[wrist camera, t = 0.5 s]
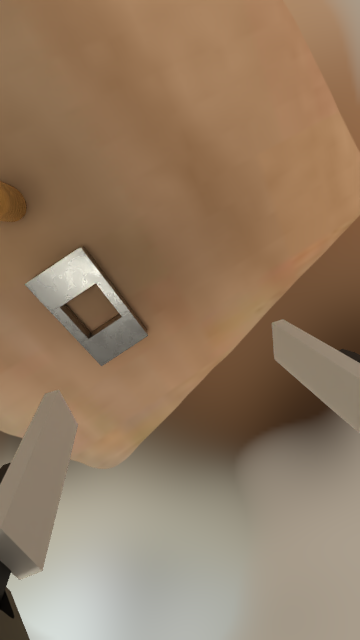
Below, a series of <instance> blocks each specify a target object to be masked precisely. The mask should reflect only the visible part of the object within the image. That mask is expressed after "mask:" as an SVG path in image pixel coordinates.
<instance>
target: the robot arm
mask: <svg viewBox="0 0 360 640" xmlns="http://www.w3.org/2000/svg"><path fill="white" fill-rule="evenodd" d="M272 333H273V345H274V346H273V347H274V359H275V360H276V361H277V362H278V363H279V364H280V365H282V366H283V367H284V368H285V369H286V370H287V371H288V372H290V373H291V374H292V375H293V376H294V377H295V378H296V379H298V380H299V381H300V382H301V383H302V384H303V385H304V386H306V387H307V388H308V389H309V390H310V391H311V392H313V393H314V394H315V395H316V396H317V397H318V398H320V399H321V400H322V401H323V402H324V403H325V404H326V405H327V406H329V407H330V408H331V409H332V410H333V411H334V412H335V413H337V414H338V415H339V416H340V417H341V418H342V419H344V420H345V421H346V422H347V423H348V424H349V425H350V426H352V427H353V428H354V429H355V430H356V431H357V432H358V433H360V355H359V354H357V353H355V352H351V351H348V350H344V349H341V350H339V351H338V350H336V349H334V348H332V347H331V346H329V345H327V344H325V343H324V342H321V341H320V340H318V339H317V338H315V337H313V336H311V335H310V334H308V333H306V332H304V331H302V330H301V329H299V328H297V327H296V326H294V325H292V324H290V323H288V322H287V321H285V320H283V319H282V320H279V321H276V322H273V323H272ZM77 427H78V423H77V422H76V420H75V418H74V416H73V414H72V413H71V411H70V409H69V407H68V405H67V404H66V402H65V400H64V398H63V396H62V394H61V393H60V391H59V390H56V391H52V392H49V393H46V394H45V395H44V397H43V399H42V401H41V403H40V405H39V407H38V409H37V411H36V413H35V415H34V417H33V419H32V421H31V423H30V425H29V427H28V429H27V431H26V433H25V435H24V437H23V439H22V441H21V443H20V445H19V447H18V449H17V452H16V453H15V456H14V457H13V459H12V462H11V463H8V464H5V465H3V466H2V467H1V468H0V640H30V639H29V637H28V634H27V632H26V629H25V627H24V624H23V622H22V619H21V617H20V614H19V612H18V609H17V607H16V605H15V602H14V599H13V597H12V594H11V592H10V590H9V589H8V588H7V587H6V585H7V582H8V579H9V576H10V573H13V574H14V575H15V576H16V577H17V578H18V579H19V580H21V579H23V578H26V577H28V576H30V575H33V574H36V573H38V572H41V571H42V570H43V566H44V562H45V558H46V554H47V550H48V546H49V542H50V537H51V533H52V529H53V525H54V520H55V517H56V513H57V509H58V505H59V501H60V497H61V492H62V488H63V484H64V480H65V476H66V472H67V468H68V464H69V460H70V456H71V452H72V448H73V444H74V439H75V435H76V431H77Z"/></svg>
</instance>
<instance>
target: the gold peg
mask: <svg viewBox="0 0 360 640" xmlns="http://www.w3.org/2000/svg"><path fill="white" fill-rule="evenodd" d="M25 213H26V202H25V199H24V197H23V195H22V194H21V193H20V192H19V191H18V190H17V189H16V188H14V187H13V186H11V185H8V184H6V183H3V182H1V181H0V221H7V222H15V221H18V220H20V219H21V218H23V216H24V215H25Z"/></svg>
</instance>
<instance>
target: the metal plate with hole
mask: <svg viewBox="0 0 360 640" xmlns="http://www.w3.org/2000/svg"><path fill="white" fill-rule="evenodd" d="M95 283H96V284H97V286H98V287H99V288H100V289H101V291H102V292H103V293H104V294H105V296H106V297H107V298H108V300H109V301H110V302H111V303H112V305H113V306H114V307H115V308H116V310H117V311H118V312H119V313H120V314H119V315H117V316H116V317H114V318H113V319H111V320H110V321H108V322H106V323H105V324H103V325H102V326H100V327H99V328H97V329H96V330H94V331H93V332H90V331H89V330H88V329H87V328H86V327H85V326H84V324H83V323H82V322H81V321H80V320H79V319H78V318H77V317H76V316H75V314H74V313H73V312H72V311H71V310H70V309H69V308H68V307H67V305H66V304H65V303H67V302H68V301H70V300H71V299H73V298H74V297H76V296H77V295H79V294H80V293H82V292H83V291H85V290H86V289H88V288H89V287H91V286H92V285H94V284H95ZM25 285H26V286H27V288H28V289H29V290H30V291H31V292H32V293H33V294H34V295H35V296H36V297H37V298H38V299H39V300H40V301H41V302H42V303H43V304H44V306H45V307H46V308H47V309H48V310H49V311H50V312H51V313H52V314H53V315H54V316H55V317H56V318H57V319H58V320H59V321H60V323H61V324H62V325H63V326H64V327H65V328H66V329H67V330H68V331H69V332H70V333H71V334H72V335H73V336H74V337H75V338H76V340H77V341H78V342H79V343H80V344H81V345H82V346H83V347H84V348H85V349H86V350H87V351H88V352H89V353H90V354H91V355H92V356H93V358H94V359H95V360H96V361H97V362H98V363H99V364H100V365H101V366H103V365H104V364H106V363H107V362H109V361H110V360H112V359H113V358H115V357H116V356H118V355H119V354H121V353H122V352H124V351H125V350H127V349H128V348H130V347H131V346H133V345H134V344H136V343H138V342H139V341H141V340H142V339H144V338H145V337H147V336H148V333H147V329H146V328H145V326H144V325H143V324H142V322H141V321H140V320H139V319H138V317H137V316H136V315H135V313H134V312H133V311H132V309H131V308H130V307H129V305H128V304H127V303H126V301H125V300H124V299H123V297H122V296H121V295H120V294H119V292H118V291H117V290H116V288H115V287H114V286H113V284H112V283H111V282H110V280H109V279H108V278H107V276H106V275H105V274H104V272H103V271H102V270H101V269H100V267H99V266H98V265H97V263H96V262H95V261H94V259H93V258H92V257H91V255H90V254H89V253H88V251H87V250H86V249H85V247H84V246H82V247H80V248H78V249H77V250H75V251H74V252H72V253H71V254H69V255H68V256H66V257H65V258H63V259H62V260H60V261H59V262H57V263H56V264H54V265H53V266H51V267H50V268H48V269H47V270H45V271H44V272H42V273H41V274H39V275H38V276H36V277H35V278H33V279H32V280H30V281H29V282H27V283H26V284H25Z"/></svg>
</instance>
